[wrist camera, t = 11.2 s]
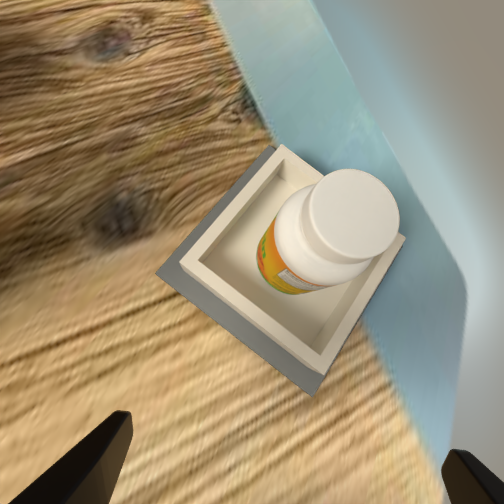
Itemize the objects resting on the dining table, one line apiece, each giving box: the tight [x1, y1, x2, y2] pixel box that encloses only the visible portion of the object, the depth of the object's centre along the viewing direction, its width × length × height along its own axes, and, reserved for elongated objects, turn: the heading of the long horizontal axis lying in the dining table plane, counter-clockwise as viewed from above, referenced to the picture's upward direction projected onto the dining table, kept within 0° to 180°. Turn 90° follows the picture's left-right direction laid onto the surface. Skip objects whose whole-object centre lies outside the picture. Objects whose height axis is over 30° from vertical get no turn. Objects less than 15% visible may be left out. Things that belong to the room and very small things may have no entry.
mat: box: [155, 145, 402, 397], centre depth 22 cm, size 14×14×1 cm
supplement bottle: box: [256, 169, 400, 295], centre depth 16 cm, size 5×5×10 cm
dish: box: [179, 144, 406, 375], centre depth 20 cm, size 11×11×3 cm
